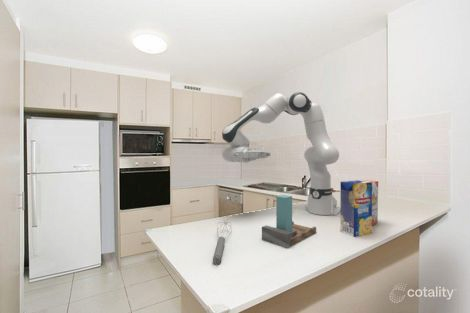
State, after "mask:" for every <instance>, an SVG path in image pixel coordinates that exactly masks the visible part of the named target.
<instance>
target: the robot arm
mask: <svg viewBox="0 0 470 313" xmlns="http://www.w3.org/2000/svg"><path fill="white" fill-rule="evenodd" d="M284 112H285V113H286V114H289V115H291V116H296V115H299V114H300V115H301V117H302V118H303V122H304V128H305V134H306V138H307V139H308V140H309V141H310V143H311V145H312V146H310V147H308V148H307V149H305V151H304V155H303V156H304V159H305V160H306V162H307V165H308V169H309V176H310V187H309V195H308V197H307V204H306V205H307V206H306V207H305V211H307V212H308V213H310V214H314V215H320V216H337V215H339V214H340V213H341V207H338V200H337V199H336V197H334V195H333V192H334V188H332V186H331V184H332V182H331V181H332V180H331V179H332V178H331V177H332V176H331V174H330V172H329V170H328V167H327V166H328V165H332V164H335V163H337V161H338V160H339V157H340V152H339V150H338V148H337V147H336V146H335V145H333V143H332V141H331V139H330V137H329V134H328V131H327V128H326V127H327V126H326V122H325V117H324V113H323V110H322V108H321V105H320V104H319V103H316V102H312V101H311V99H310V98H309V97H308V96H307V94H305V93H304V92H301V91H299V92H294V93H293V94H292V95H290V96H289V97H287V96H285V95H284V94H283V93H280V92H277V93H275V94H273V95H272V96H271V97H269V98H268V99H267V100H266V101H265V102H264V103H263V104H262V105H260V106H258V107H252V108H250V110H248V111H246V112H245V113H244V114H243V115H241V116H240V117H238V118H237V119H236V120H235V121H233V122H231V123H230V124H229V125H226V126H225V127H224V128H223V130H222V134H221V135H222V139H223V140H224V141H225V142H226V143H228V144H229V146H228V147H226V148H224V149H223V150H222V151H221V155H222V159H224V160H225V162H229V163H249V162H252V161H257V160H260V159H267V158H268V157H271V152H268V150H263V149H262V150H261V149H257V148H251V147H249V146H250V140H249V138H248V137H247V136H246V135H245V134H244V133H243V132H242V131H241V129H242V128H243V127H244V126H246V125H247V124H248V123H249V122H252V121H256V122H259V123H262V124H272V122H274V121H275V120H276V119H277V118H278V117H279V116H280V115H281V114H282V113H284Z"/></svg>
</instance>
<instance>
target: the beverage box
mask: <svg viewBox="0 0 470 313" xmlns="http://www.w3.org/2000/svg"><path fill="white" fill-rule="evenodd" d="M340 208H341V211H340V233H342V234H343V233H344V234H345V235H348V236H351V237H354V238H357V237H360V236H364V235H371V234H372V233H373V225H372V182H367V181H365V180H358V179H356V180H346V181H340Z"/></svg>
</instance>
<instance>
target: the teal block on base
mask: <svg viewBox="0 0 470 313" xmlns="http://www.w3.org/2000/svg"><path fill="white" fill-rule="evenodd" d="M275 199H276V201H275V202H276V203H275V204H276V210H275V211H276V215H275V216H276V217H275V218H276V222H275V223H276V226H275V228H278V229H281V230H285V231H288V232H292V237H293V236H295V235H297V231H295V230H292V221H293V195H287V194H281V195H277V196H276V197H275Z"/></svg>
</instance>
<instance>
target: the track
mask: <svg viewBox="0 0 470 313" xmlns="http://www.w3.org/2000/svg"><path fill="white" fill-rule="evenodd" d="M292 230H295V231H297V235H295V236H293V237H292V232H288V231H285V230H281V229H278V228H276V227H274V226H270V225H264V226H262V227H261V240H262V241H265V242H269V243H272V244H275V245H277V246H279V247H282V248H285V249H289V248H291V247H293V246H295V245H296V244H298V243H300V242H302V241H304V240H306V239H308V238H310V237H312V236H313V235H315V234H317V226H312V227H308V226H305V225H300V224H297V223H295V221H293V220H292Z"/></svg>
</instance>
